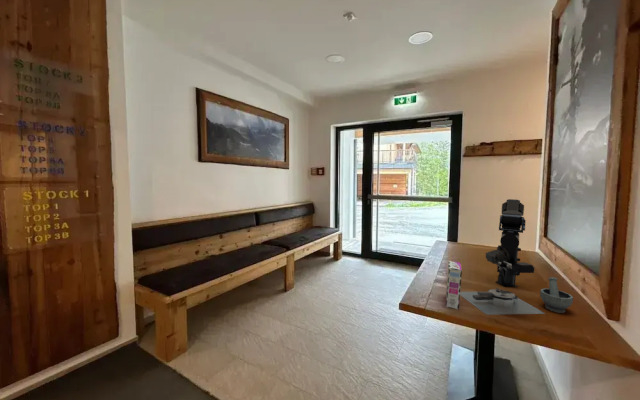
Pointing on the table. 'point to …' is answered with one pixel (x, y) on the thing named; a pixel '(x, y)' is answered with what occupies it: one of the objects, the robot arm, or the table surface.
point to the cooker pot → (497, 300)
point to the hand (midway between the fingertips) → (506, 282)
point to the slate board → (490, 309)
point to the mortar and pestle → (555, 297)
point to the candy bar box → (453, 285)
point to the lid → (497, 293)
